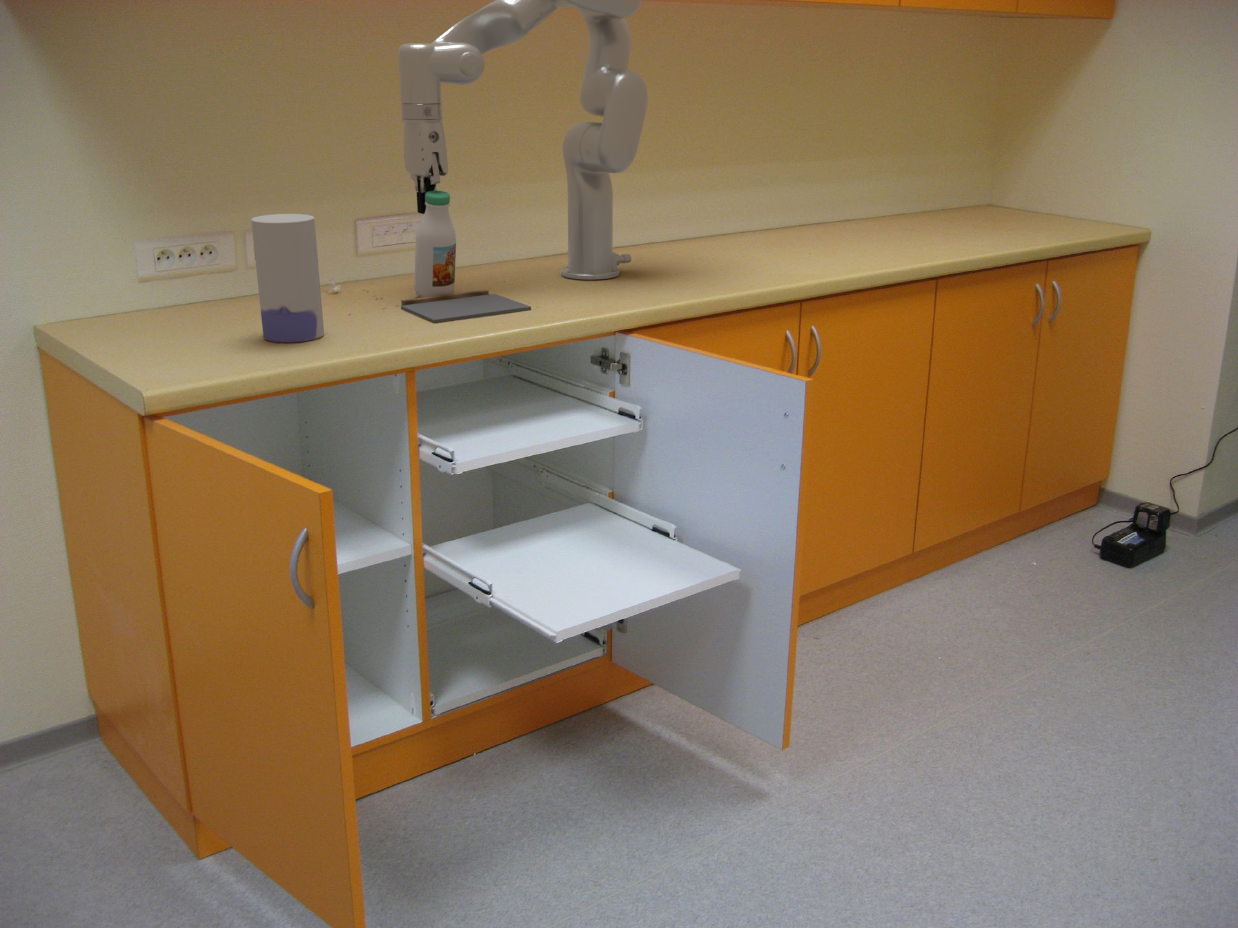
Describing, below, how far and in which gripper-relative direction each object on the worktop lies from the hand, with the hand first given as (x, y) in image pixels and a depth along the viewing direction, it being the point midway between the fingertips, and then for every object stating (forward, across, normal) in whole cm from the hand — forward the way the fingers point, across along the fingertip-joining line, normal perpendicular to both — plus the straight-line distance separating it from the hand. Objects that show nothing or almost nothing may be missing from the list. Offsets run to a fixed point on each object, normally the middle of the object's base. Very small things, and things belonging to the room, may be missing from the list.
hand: (426, 212), depth 222 cm
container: (+16, -18, +34) cm, 41 cm away
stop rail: (+16, -6, 0) cm, 17 cm away
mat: (+16, -15, 0) cm, 22 cm away
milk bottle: (+16, -1, 0) cm, 16 cm away
